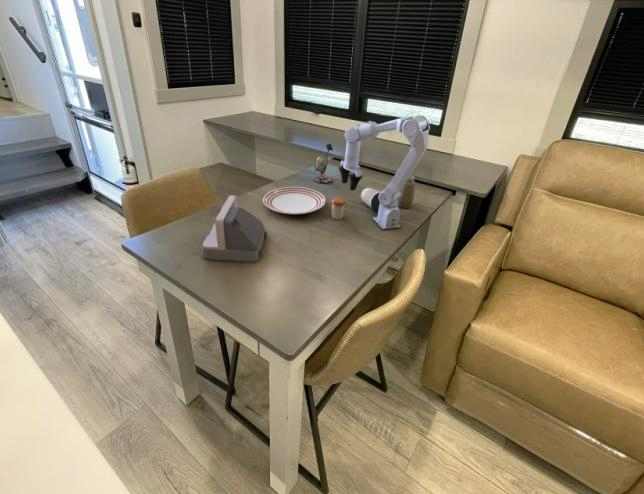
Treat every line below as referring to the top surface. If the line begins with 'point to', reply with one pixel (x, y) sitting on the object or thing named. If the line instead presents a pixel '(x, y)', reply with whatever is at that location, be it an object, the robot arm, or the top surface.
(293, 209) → the dinner plate
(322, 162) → the plant with pod
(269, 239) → the top surface
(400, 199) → the squeeze bottle
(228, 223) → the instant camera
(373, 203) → the coffee cup
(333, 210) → the jar
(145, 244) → the top surface
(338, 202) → the lid
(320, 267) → the top surface
